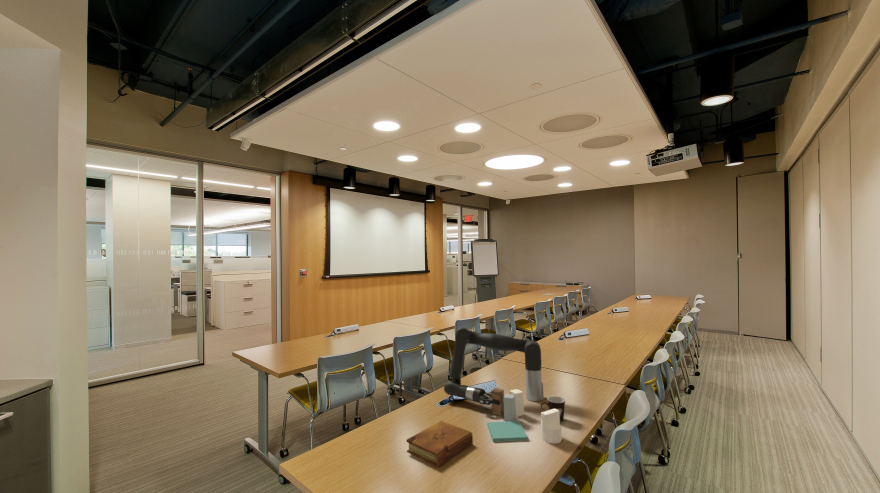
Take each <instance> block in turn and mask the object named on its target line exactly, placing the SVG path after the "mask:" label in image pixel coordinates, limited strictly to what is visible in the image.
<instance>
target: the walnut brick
mask: <svg viewBox="0 0 880 493" xmlns="http://www.w3.org/2000/svg"><path fill="white" fill-rule="evenodd" d="M490 393H491V398H492V399H495V400H499V401H500V405H496V404H491V414H494V415H497V416H502V415H504V395H505V390H504V388H498V387H495V388H493V389H491V391H490Z"/></svg>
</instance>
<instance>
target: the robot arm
mask: <svg viewBox="0 0 880 493" xmlns="http://www.w3.org/2000/svg"><path fill="white" fill-rule="evenodd" d="M454 335H455V339H454V340H455V342H454V350H453V351H454V352H453V354H452V355H453V356H452V361H451V363H450V364H451V365H450V369H449V374H448V375H449V377H450V378H451V381H447V382H446V383H445V384H444V386H443V391H444V393H445V394H446V395H448V396H449V395H450V396H453V397H459V398H461V399H466V400H469V401H470V402H471V401H472V402H473V403H474V402H475V403H477V404H480V405H486V406H492V404H496V405H500V401H499V400H495V399H492V398H491V392H486V390H485V389H484V388H480V387H476V386H471V385H465V384H462V380H461V379H462V377H461V376H462V372H463V366H464V357H465V352H466V351H465V350H466V346H467V344H468V345H477V346H480V347H483V348H486V349H491V350H494V351H495V350H496V351H500V352H504V351H505V352H510V351H511V352H512V351H516V352H521V353H523V354H524V361H525V362H524V367H525V370H524V372H525V373H524V374H525V390H526V392H525V396H526V400H528V401H531V402H540V401H543V400H545V399H544V398H545V397H544V395H545V394H544V382H543V378H542V376H543V375H542V349H541V345H540V344H539V342H538V341H536V340H534V339H533V340H532V339H523V338H522V339H521V338H516V337H513V336H512V337H511V336H506V335H504V334H503V335H502V334H497V333H489V332H477V331H473V330H469V329H467V328H466V327H460V328H458V329H457V330H456V332H455V334H454Z"/></svg>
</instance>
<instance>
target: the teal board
mask: <svg viewBox="0 0 880 493" xmlns="http://www.w3.org/2000/svg"><path fill="white" fill-rule="evenodd" d="M486 424H487V429H488V431H489V434H490V437H491V441H492V442H493V443H496V442H497V443H500V442H501V441H502V442H520V441H521V442H523V441H529V438H528V434H527V433H526V431H525V429H524V427H523V425H522V423H521V422H520V421H519V420H515V421H489V422H487V423H486Z"/></svg>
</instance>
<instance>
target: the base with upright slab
mask: <svg viewBox="0 0 880 493" xmlns="http://www.w3.org/2000/svg"><path fill="white" fill-rule="evenodd" d="M540 419H541V421H540V438H541V440H542V441H544V442H545V443H548V444H560V443H561V442H562V441H563V439H562V425H561V422H560V414H559V410H557V409H555V408H554V409H551V410H549V409H548V410H545V411H544V410H543V411H542V412H540ZM561 440H562V441H561Z"/></svg>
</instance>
